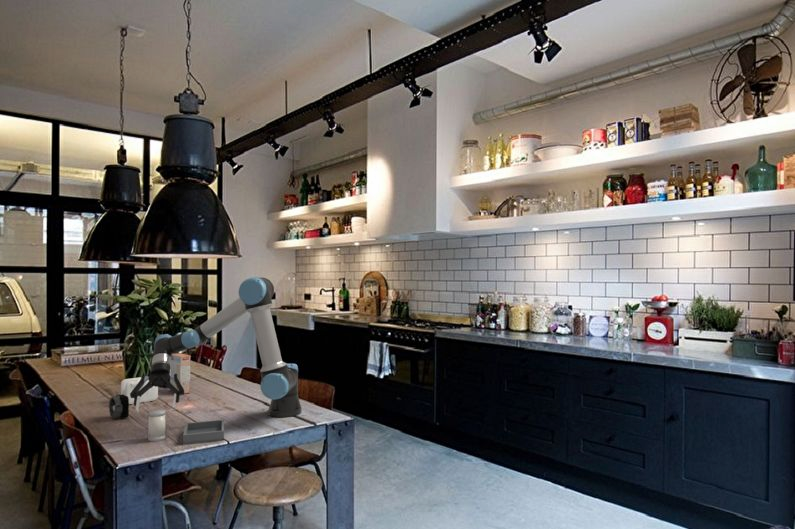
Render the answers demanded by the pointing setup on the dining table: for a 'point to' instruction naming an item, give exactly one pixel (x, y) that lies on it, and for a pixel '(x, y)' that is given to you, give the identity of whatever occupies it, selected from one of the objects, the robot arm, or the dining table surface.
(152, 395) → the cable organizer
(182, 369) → the cracker box
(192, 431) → the parts tray
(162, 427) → the grey lidded jar
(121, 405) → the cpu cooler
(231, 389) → the dining table surface
